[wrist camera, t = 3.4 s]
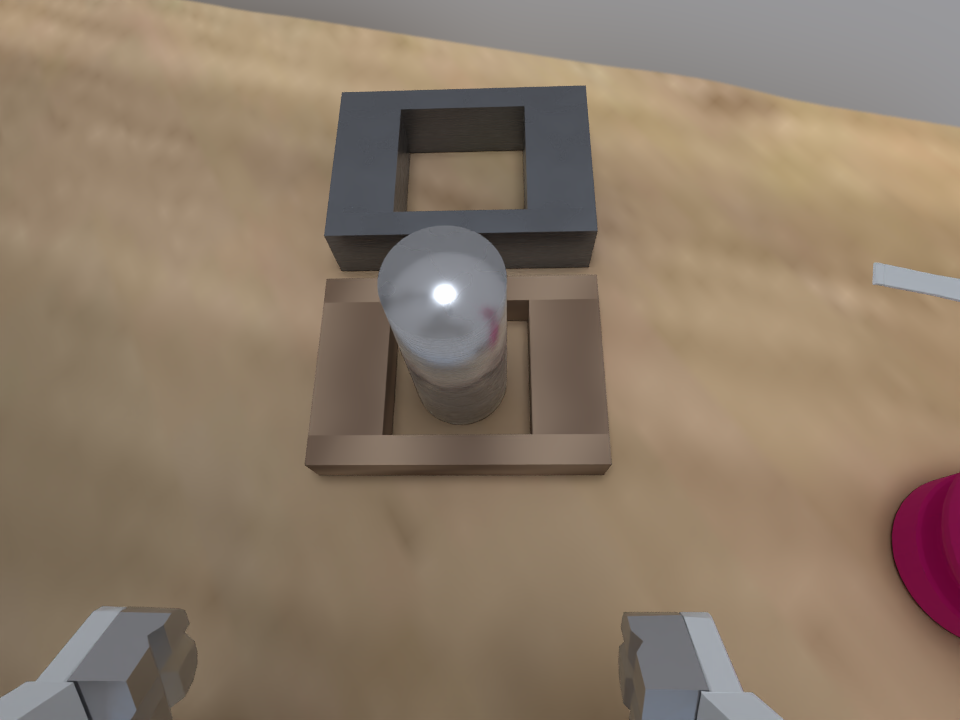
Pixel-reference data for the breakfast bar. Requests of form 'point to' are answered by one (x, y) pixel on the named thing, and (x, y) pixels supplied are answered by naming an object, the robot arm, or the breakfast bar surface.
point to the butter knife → (916, 281)
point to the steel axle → (449, 319)
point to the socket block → (452, 128)
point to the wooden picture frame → (546, 451)
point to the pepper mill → (931, 549)
